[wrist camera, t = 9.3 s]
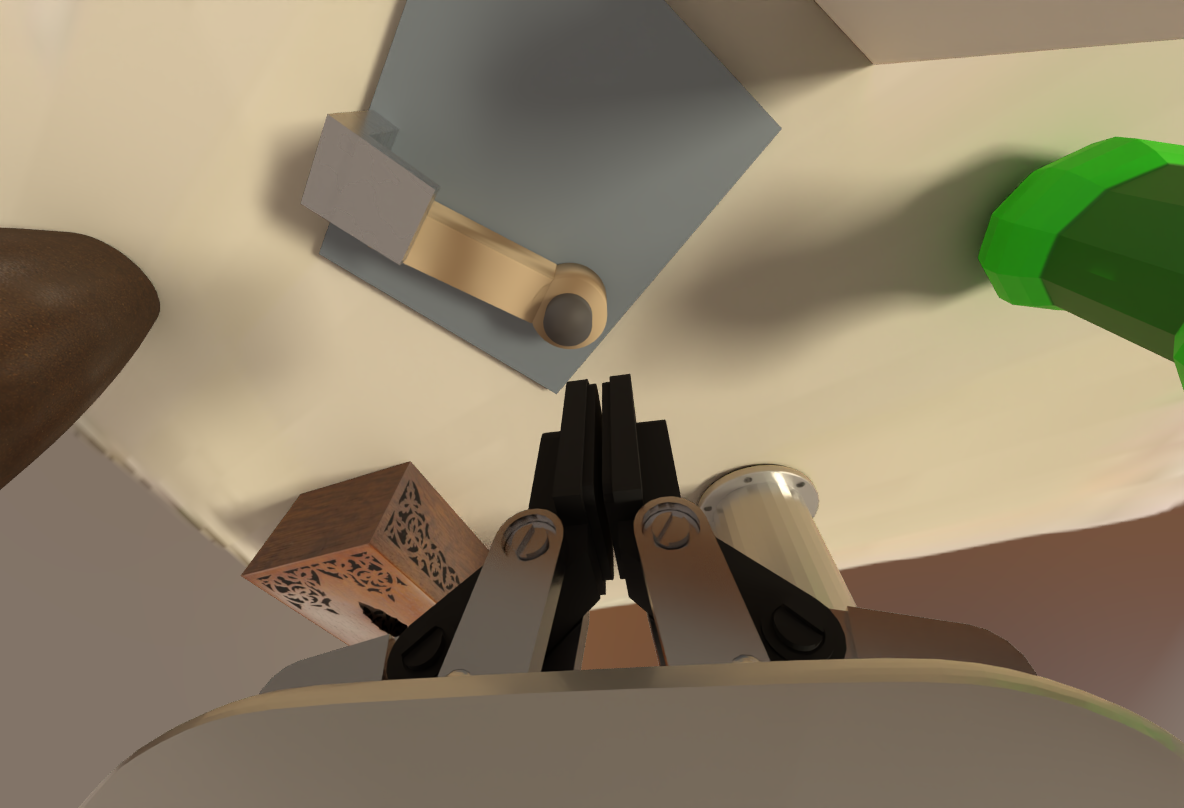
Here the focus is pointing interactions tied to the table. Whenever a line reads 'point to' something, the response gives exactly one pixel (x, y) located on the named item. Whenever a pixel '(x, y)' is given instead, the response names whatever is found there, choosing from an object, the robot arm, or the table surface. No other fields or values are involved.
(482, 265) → the link
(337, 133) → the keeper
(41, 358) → the plant pot
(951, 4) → the milk
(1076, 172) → the plastic bottle
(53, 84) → the table surface
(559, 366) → the board
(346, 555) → the tissue box cover
